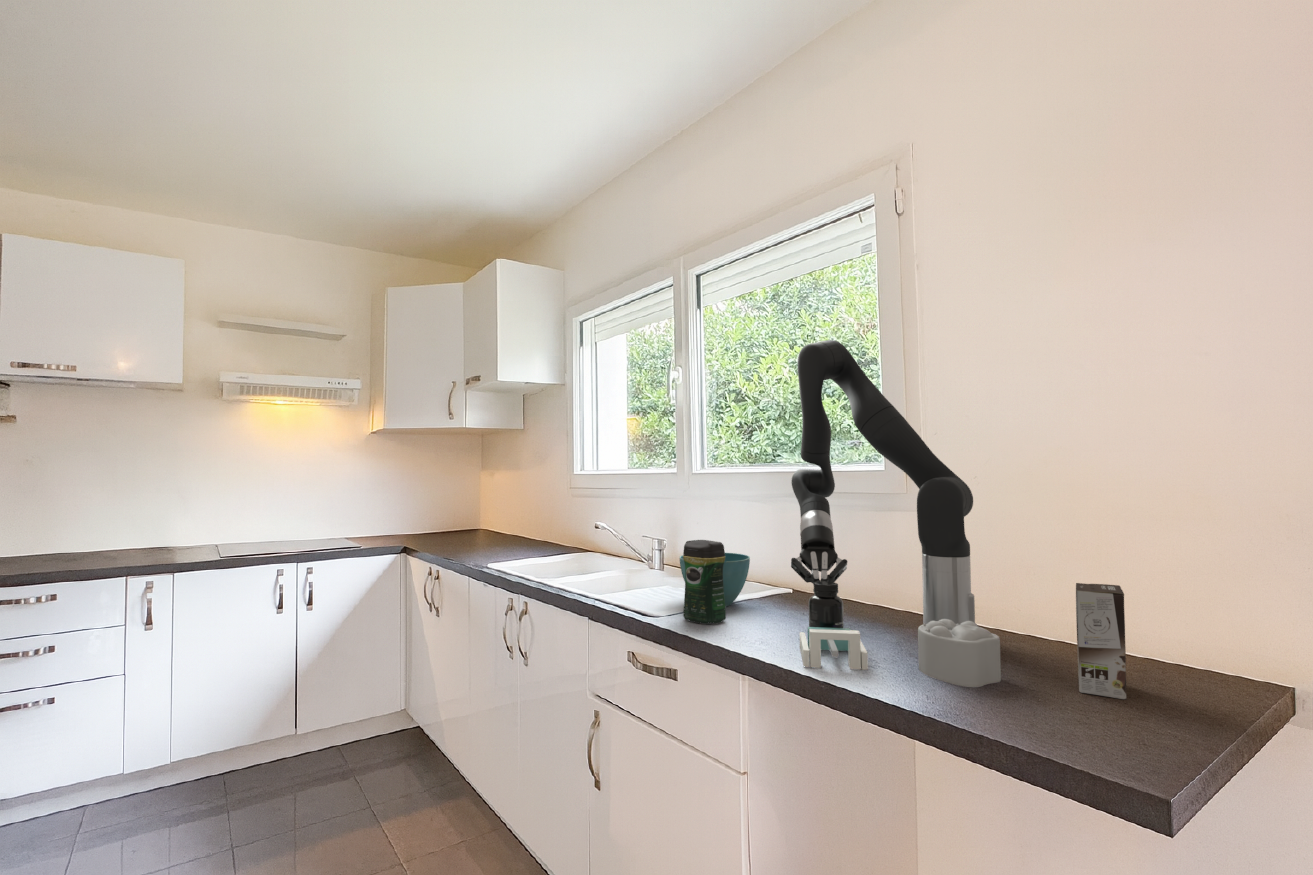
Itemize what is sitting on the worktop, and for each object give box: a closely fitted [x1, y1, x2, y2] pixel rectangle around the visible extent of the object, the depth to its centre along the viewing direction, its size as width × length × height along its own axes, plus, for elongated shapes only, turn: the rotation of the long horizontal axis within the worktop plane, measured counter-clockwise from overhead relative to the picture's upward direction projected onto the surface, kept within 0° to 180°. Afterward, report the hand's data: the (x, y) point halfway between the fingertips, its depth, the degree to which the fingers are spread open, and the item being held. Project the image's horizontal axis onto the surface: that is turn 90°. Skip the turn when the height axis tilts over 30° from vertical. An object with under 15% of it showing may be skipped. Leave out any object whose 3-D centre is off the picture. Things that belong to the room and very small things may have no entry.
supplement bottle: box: [808, 582, 844, 628], centre depth 136 cm, size 7×7×12 cm
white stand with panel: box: [799, 629, 869, 671], centre depth 125 cm, size 11×13×6 cm
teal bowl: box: [679, 552, 751, 608], centre depth 174 cm, size 18×18×12 cm
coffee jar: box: [682, 539, 727, 625], centre depth 156 cm, size 10×8×19 cm
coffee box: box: [1075, 582, 1127, 700], centre depth 108 cm, size 9×6×16 cm
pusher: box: [807, 626, 851, 658], centre depth 125 cm, size 8×12×4 cm, turn 171°
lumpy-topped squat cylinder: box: [917, 619, 1002, 688], centre depth 116 cm, size 10×13×9 cm
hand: (821, 596), depth 145 cm, fingers closed
